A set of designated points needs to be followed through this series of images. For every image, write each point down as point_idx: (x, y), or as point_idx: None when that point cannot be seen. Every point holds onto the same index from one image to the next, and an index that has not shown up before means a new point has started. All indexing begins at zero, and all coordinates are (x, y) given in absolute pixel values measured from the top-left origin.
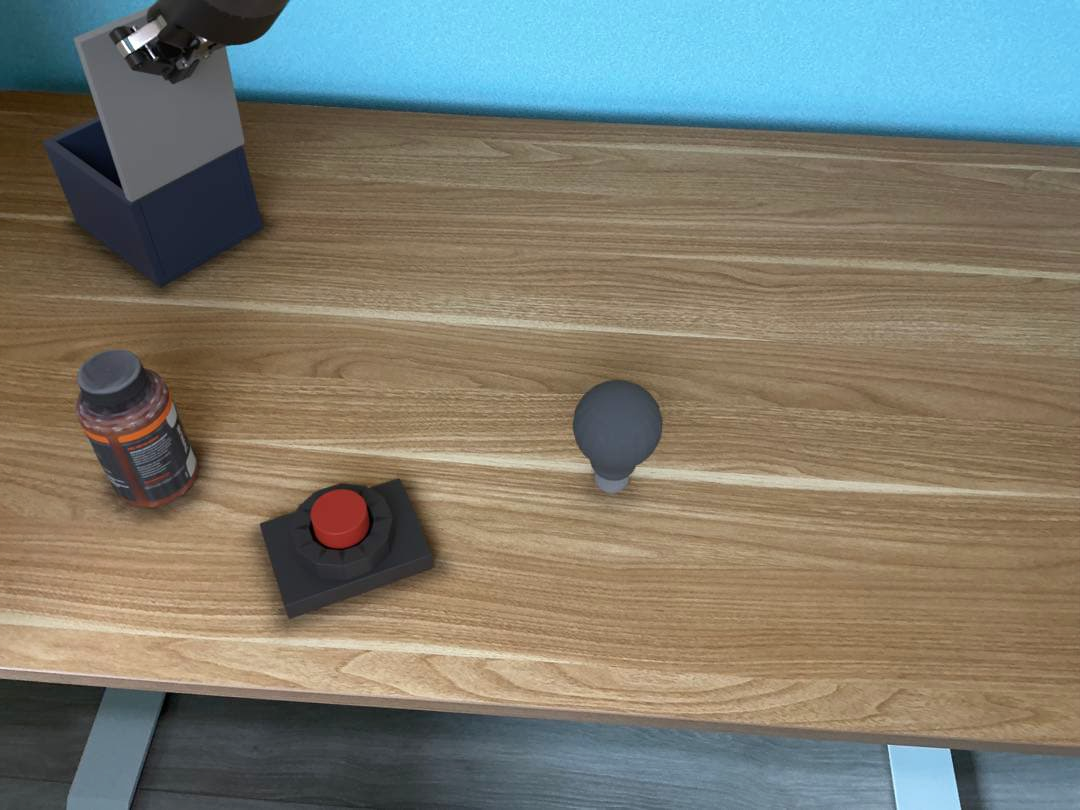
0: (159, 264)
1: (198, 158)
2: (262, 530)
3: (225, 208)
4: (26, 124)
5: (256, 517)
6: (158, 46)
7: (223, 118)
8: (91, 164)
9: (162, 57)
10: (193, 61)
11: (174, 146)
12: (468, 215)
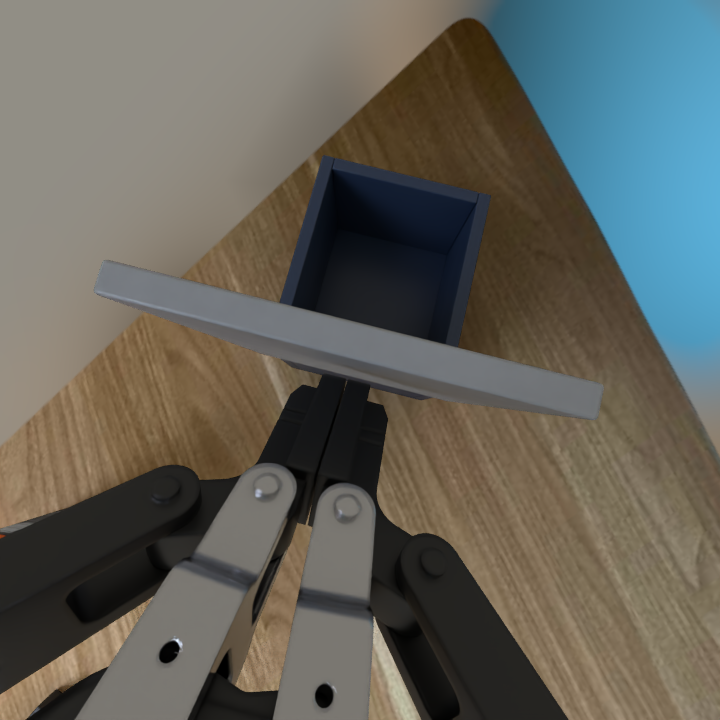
0: (294, 365)
1: (371, 381)
2: (31, 714)
3: (388, 387)
4: (437, 60)
5: (75, 664)
6: (168, 545)
7: (432, 395)
8: (363, 205)
9: (160, 563)
10: (309, 523)
11: (337, 371)
12: (564, 605)
